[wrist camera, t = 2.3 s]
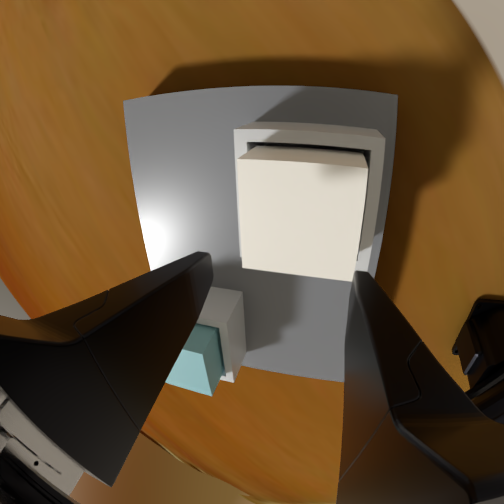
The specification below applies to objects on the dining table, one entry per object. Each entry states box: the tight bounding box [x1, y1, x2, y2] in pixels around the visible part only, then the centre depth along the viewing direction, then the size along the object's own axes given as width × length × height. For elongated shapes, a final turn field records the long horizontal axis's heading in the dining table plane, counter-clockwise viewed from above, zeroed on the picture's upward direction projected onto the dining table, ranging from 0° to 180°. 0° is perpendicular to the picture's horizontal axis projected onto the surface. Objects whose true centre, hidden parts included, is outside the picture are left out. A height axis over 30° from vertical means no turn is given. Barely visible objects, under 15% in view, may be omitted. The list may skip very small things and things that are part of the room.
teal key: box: [166, 323, 225, 396], centre depth 21 cm, size 5×5×3 cm
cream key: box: [237, 146, 368, 282], centre depth 13 cm, size 5×5×3 cm
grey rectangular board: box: [123, 86, 398, 383], centre depth 21 cm, size 17×23×6 cm
